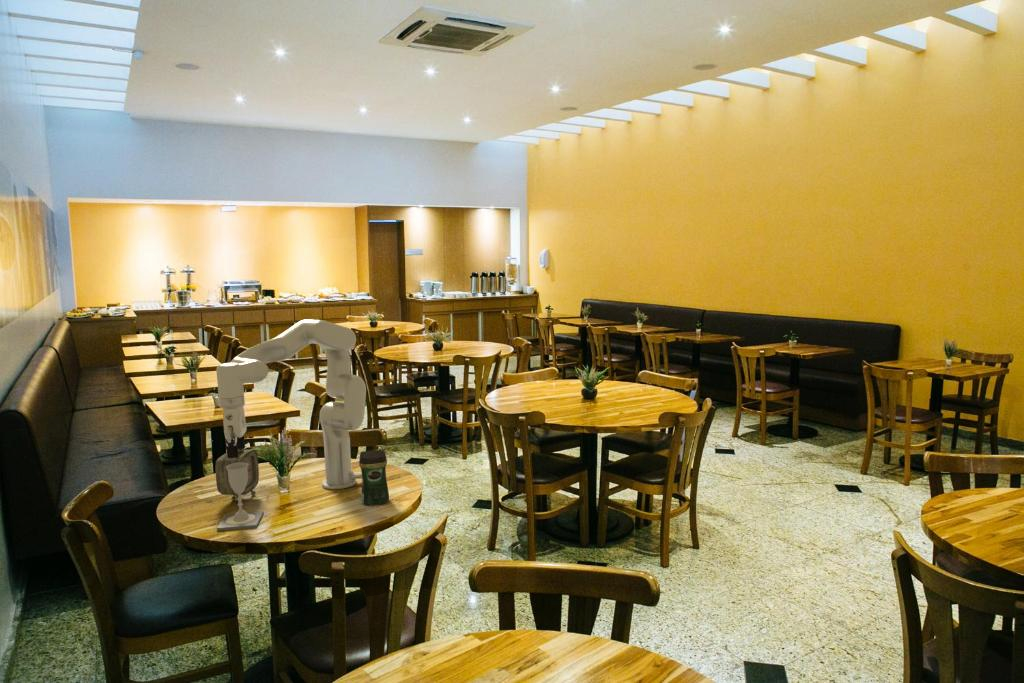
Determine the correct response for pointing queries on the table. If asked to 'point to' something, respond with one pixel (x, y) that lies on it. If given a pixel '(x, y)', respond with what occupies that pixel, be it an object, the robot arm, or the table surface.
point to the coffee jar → (374, 477)
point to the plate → (229, 524)
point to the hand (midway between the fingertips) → (236, 453)
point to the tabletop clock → (222, 472)
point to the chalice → (238, 486)
